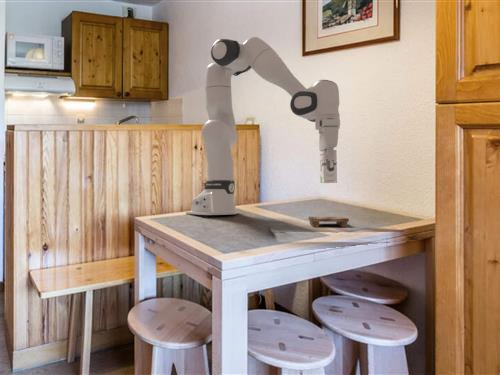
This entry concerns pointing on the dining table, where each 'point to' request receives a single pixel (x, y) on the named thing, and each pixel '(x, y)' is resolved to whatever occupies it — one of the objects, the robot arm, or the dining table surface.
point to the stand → (339, 221)
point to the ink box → (328, 168)
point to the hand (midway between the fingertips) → (327, 161)
